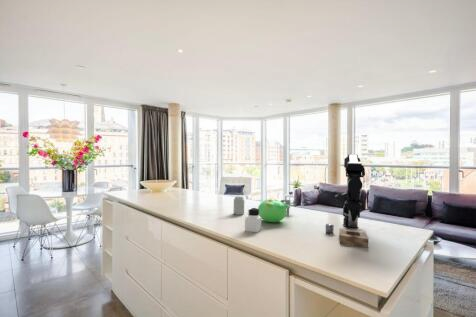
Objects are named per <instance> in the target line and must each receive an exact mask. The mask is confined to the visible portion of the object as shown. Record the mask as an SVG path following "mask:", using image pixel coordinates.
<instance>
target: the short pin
mask: <svg viewBox="0 0 476 317" xmlns="http://www.w3.org/2000/svg"><path fill="white" fill-rule="evenodd" d="M334 228H335V227H334V224H332V223H325V234H326V235H334Z"/></svg>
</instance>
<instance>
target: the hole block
mask: <svg viewBox="0 0 476 317" xmlns="http://www.w3.org/2000/svg"><path fill="white" fill-rule="evenodd" d="M338 239H339V244H340V245H346V246H353V247H359V248H360V247H361V248H369V236H368V235H367V232H366V231H364V230H362V231H361V230H356V229H355V230H354V229H349V228H348V229H345V228H339V238H338Z"/></svg>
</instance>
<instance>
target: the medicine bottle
mask: <svg viewBox="0 0 476 317" xmlns="http://www.w3.org/2000/svg"><path fill="white" fill-rule="evenodd" d="M260 230H262V219H261V217H260V216H259V209H258V207H257V208H256V207H250V208H247V216H246V217H245V219H244V231H245V232H249V233H258V232H259V231H260Z"/></svg>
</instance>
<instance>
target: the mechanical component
mask: <svg viewBox="0 0 476 317" xmlns="http://www.w3.org/2000/svg"><path fill="white" fill-rule="evenodd" d="M280 201H281V202H282V203H283V204H284V205H290V207H289V208H287V209H286V210H287V213H286V215H290V209H291V207H294V206H295V204H296V200H293V201H292V202H291V200H290V199H281V200H280Z"/></svg>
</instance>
